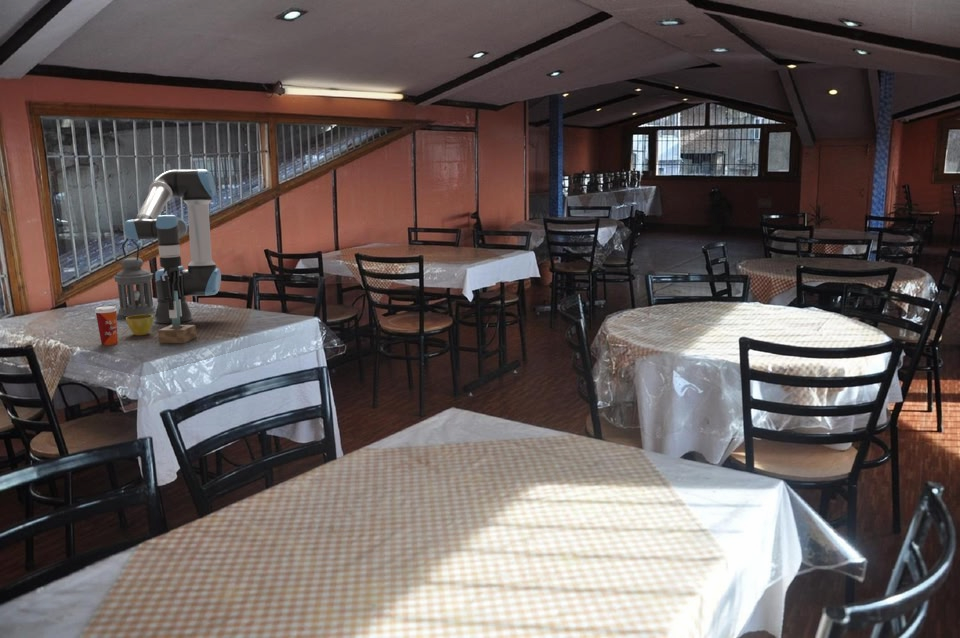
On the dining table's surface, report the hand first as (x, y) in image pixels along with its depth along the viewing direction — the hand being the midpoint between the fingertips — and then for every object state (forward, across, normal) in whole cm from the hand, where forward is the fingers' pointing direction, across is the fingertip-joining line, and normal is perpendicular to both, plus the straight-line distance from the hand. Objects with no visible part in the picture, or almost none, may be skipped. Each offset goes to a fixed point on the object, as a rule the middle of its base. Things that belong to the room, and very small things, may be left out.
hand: (175, 316), depth 304 cm
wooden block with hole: (+9, 0, 0) cm, 9 cm away
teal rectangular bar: (+6, 0, 0) cm, 6 cm away
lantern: (+9, -55, -49) cm, 74 cm away
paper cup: (+9, +7, -24) cm, 27 cm away
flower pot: (+9, -10, -21) cm, 25 cm away
